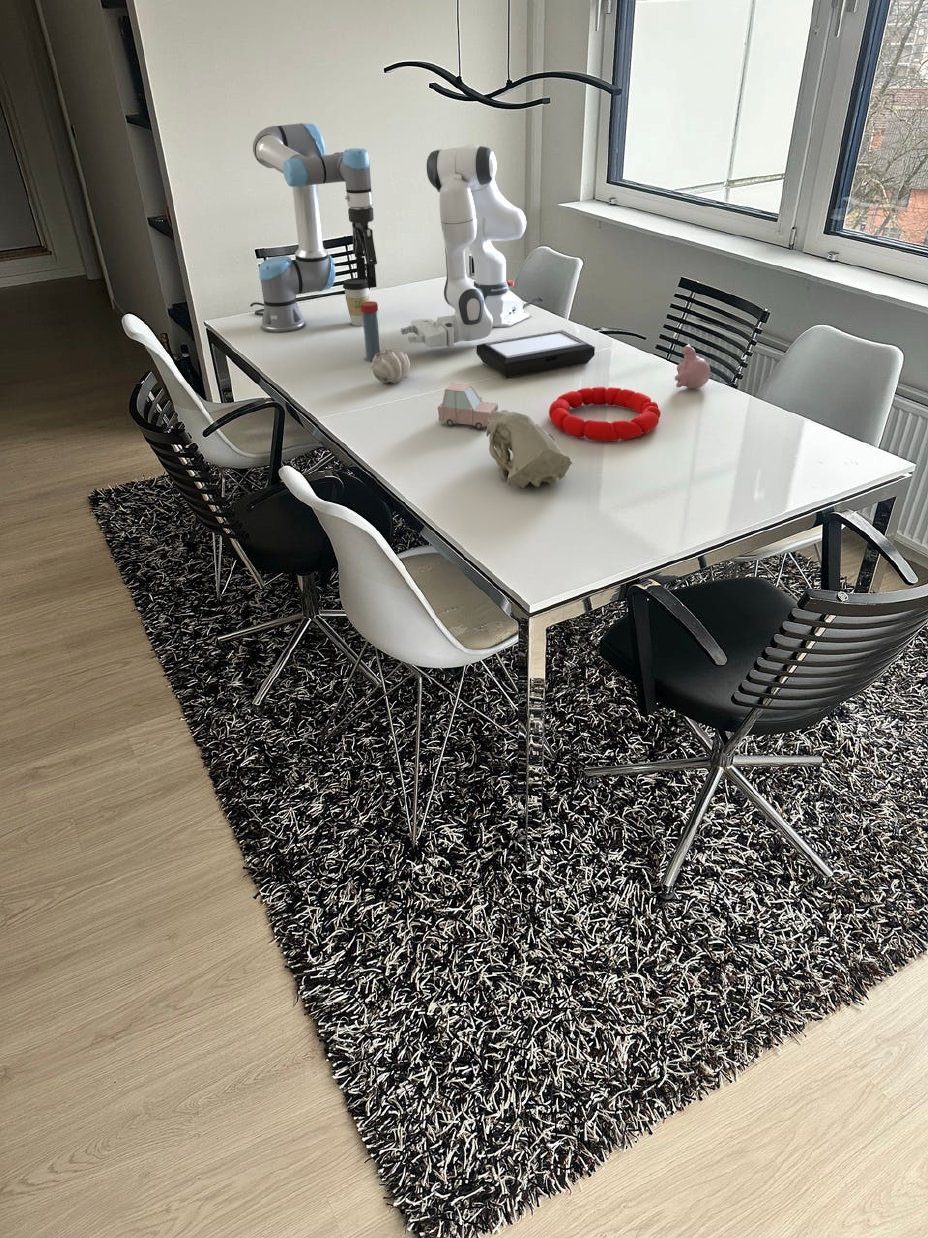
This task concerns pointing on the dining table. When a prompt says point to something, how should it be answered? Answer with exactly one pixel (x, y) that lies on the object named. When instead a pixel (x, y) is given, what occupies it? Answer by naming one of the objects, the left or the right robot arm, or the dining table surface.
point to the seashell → (390, 366)
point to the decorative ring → (604, 428)
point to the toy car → (465, 406)
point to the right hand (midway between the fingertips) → (405, 335)
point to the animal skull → (525, 450)
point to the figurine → (692, 370)
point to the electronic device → (535, 353)
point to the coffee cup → (356, 298)
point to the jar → (371, 335)
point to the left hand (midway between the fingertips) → (366, 283)
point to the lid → (369, 307)
